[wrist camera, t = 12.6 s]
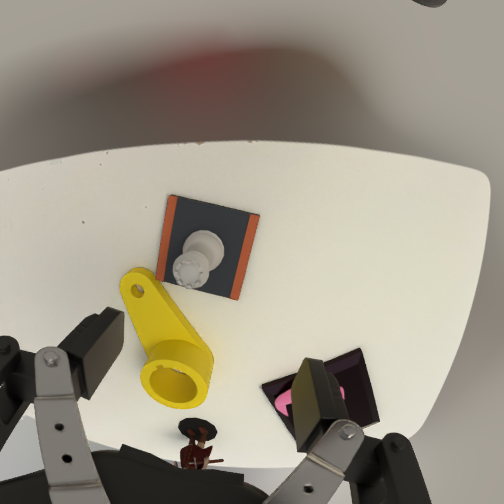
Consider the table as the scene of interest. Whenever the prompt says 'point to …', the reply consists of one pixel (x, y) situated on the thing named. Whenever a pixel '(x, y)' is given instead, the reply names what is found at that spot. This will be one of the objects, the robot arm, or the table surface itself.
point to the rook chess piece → (198, 259)
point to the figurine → (193, 453)
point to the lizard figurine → (351, 386)
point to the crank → (166, 344)
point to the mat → (218, 222)
